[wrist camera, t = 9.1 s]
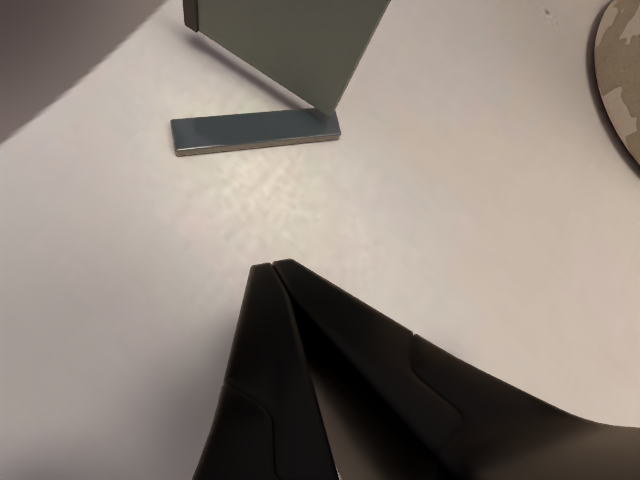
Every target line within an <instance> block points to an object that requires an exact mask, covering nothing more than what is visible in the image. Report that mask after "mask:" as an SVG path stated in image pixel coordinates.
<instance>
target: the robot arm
mask: <svg viewBox="0 0 640 480" xmlns="http://www.w3.org/2000/svg"><path fill="white" fill-rule="evenodd" d="M335 465H336V466H335ZM336 467H337V469H338V472H339V474H340V476H341V479H342V480H640V428H636V427H623V426H613V425H608V424H602V423H597V422H594V421H590V420H587V419H584V418H581V417H578V416H575V415H573V414H570V413H568V412H566V411H563V410H561V409H559V408H557V407H555V406H553V405H551V404H549V403H547V402H545V401H543V400H541V399H539V398H537V397H534V396H532V395H530V394H528V393H526V392H524V391H522V390H520V389H518V388H516V387H514V386H512V385H510V384H508V383H506V382H504V381H502V380H500V379H498V378H496V377H494V376H492V375H490V374H488V373H486V372H484V371H482V370H480V369H478V368H476V367H474V366H472V365H470V364H468V363H466V362H464V361H462V360H460V359H458V358H457V357H455V356H453V355H451V354H450V353H448V352H446V351H444V350H443V349H441V348H439V347H437V346H436V345H434V344H432V343H431V342H429V341H427V340H426V339H424V338H422V337H421V336H419V335H417V334H414V336H413V332H412V331H410V330H409V329H407V328H405V327H404V326H402V325H400V324H399V323H397V322H395V321H394V320H392V319H391V318H389V317H387V316H386V315H384V314H382V313H381V312H379V311H377V310H376V309H374V308H372V307H371V306H369V305H367V304H366V303H364V302H362V301H361V300H359V299H357V298H356V297H354V296H352V295H351V294H349V293H348V292H346V291H344V290H343V289H341V288H339V287H338V286H336V285H334V284H333V283H331V282H329V281H328V280H326V279H324V278H323V277H321V276H319V275H318V274H316V273H314V272H313V271H311V270H309V269H308V268H306V267H305V266H303V265H301V264H300V263H298V262H296V261H295V260H293V259H284V260H279V261H274V262H273V263H272V264H271V263H263V264H258V265H253V266H252V267H251V268H250V272H249V276H248V281H247V285H246V289H245V293H244V297H243V302H242V306H241V310H240V314H239V318H238V322H237V327H236V331H235V335H234V339H233V343H232V348H231V352H230V356H229V360H228V364H227V368H226V373H225V377H224V381H223V385H222V388H221V392H220V396H219V401H218V405H217V408H216V412H215V415H214V419H213V422H212V426H211V429H210V432H209V435H208V438H207V441H206V443H205V446H204V449H203V452H202V455H201V457H200V460H199V463H198V465H197V468H196V470H195V473H194V475H193V478H192V480H339V477H338V474H337V470H336Z"/></svg>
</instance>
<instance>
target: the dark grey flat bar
mask: <svg viewBox="0 0 640 480" xmlns="http://www.w3.org/2000/svg"><path fill="white" fill-rule="evenodd" d="M170 122H171V128H172V134H173V139H174V145H175V151H176V155H177V156H185V155H194V154H204V153H213V152H223V151H232V150H242V149H251V148H261V147H270V146H279V145H289V144H298V143H308V142H317V141H327V140H336V139H339V137H340V135H341V131H340V127H339V123H338V119H337V116H336V112H335V110H334V112H333V113H332V115H331V116H330V117H329V116H327V115H326V114H324V113H323V112H321V111H320V110H318V109H317V108H307V109H295V110H283V111H271V112H258V113H246V114H234V115H222V116H209V117H197V118H185V119H173V120H171V121H170Z"/></svg>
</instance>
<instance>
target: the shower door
mask: <svg viewBox="0 0 640 480" xmlns="http://www.w3.org/2000/svg"><path fill="white" fill-rule="evenodd" d="M390 1H391V0H183V11H184V22H185V25H186V26H187V27H189V28H190V29H192V30H193V31H195V32H196V33H197V32H198V31H200V32H201V33H203V34H204V35H206V36H207V37H209V38H210V39H212V40H213V41H215V42H216V43H218V44H219V45H221V46H222V47H224V48H225V49H227V50H228V51H230V52H231V53H233V54H235V55H236V56H238V57H239V58H241V59H242V60H244V61H245V62H247V63H248V64H250V65H251V66H253V67H254V68H256V69H257V70H259V71H260V72H262V73H263V74H265V75H266V76H268V77H270V78H271V79H273V80H274V81H276V82H277V83H279V84H280V85H282V86H283V87H285V88H286V89H288V90H289V91H291V92H292V93H294V94H295V95H297V96H298V97H300V98H301V99H303V100H305V101H306V102H308V103H309V104H311V105H312V106H314V107H315V108H317V109H318V110H320V111H321V112H323V113H324V114H326V115H327V116H329V117H330V116H331V115H332V113H333V112H334V110H335V109H336V107H337V105H338V103H339V101H340V99H341V97H342V95H343V93H344V91H345V89H346V87H347V85H348V83H349V81H350V79H351V77H352V75H353V73H354V71H355V69H356V67H357V66H358V64H359V62H360V60H361V58H362V56H363V54H364V52H365V50H366V48H367V46H368V44H369V42H370V40H371V38H372V36H373V34H374V32H375V30H376V28H377V26H378V24H379V22H380V20H381V18H382V16H383V14H384V12H385V11H386V9H387V7H388V5H389V3H390Z"/></svg>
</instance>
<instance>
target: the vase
mask: <svg viewBox="0 0 640 480" xmlns="http://www.w3.org/2000/svg"><path fill="white" fill-rule="evenodd" d="M594 58H595V71H596V77H597V83H598V87H599V90H600V94H601V97H602V101H603V103H604V106H605V108H606V111H607V113H608V116H609V118H610V120H611V122H612V124H613V126H614V128H615V130H616V132H617V134H618V135H619V137H620V138H621V140H622V142H623V143H624V145H625V146H626V148H627V149H628V151H629V152H630V153H631V155H632V156H633V157H634V159H635V160H636V161H637V162H638V164H639V165H640V0H612V2H611V3H610V5H609V6H608V8H607V9H606V11H605V13H604V15H603V17H602V19H601V22H600V25H599V28H598V32H597V36H596V40H595V51H594Z"/></svg>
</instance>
